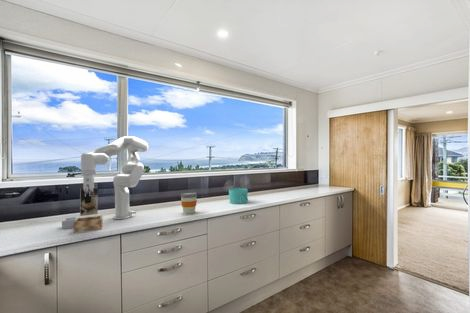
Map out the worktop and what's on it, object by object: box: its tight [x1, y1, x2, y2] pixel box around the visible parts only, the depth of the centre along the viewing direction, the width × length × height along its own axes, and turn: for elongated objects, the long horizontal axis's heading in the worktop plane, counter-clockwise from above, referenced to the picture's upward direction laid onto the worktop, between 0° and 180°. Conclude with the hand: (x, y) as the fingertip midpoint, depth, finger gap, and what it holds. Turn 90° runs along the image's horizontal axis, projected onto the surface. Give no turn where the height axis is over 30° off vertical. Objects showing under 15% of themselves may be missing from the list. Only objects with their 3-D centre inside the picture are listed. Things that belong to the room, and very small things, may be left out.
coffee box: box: [79, 186, 99, 217], centre depth 142 cm, size 9×6×16 cm
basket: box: [228, 187, 249, 205], centre depth 219 cm, size 19×18×13 cm
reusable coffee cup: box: [180, 191, 198, 215], centre depth 181 cm, size 13×13×15 cm
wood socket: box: [73, 214, 104, 234], centre depth 141 cm, size 14×11×6 cm
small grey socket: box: [61, 216, 79, 230], centre depth 146 cm, size 8×8×5 cm
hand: (88, 201), depth 141 cm, fingers closed on coffee box, 7 cm apart
